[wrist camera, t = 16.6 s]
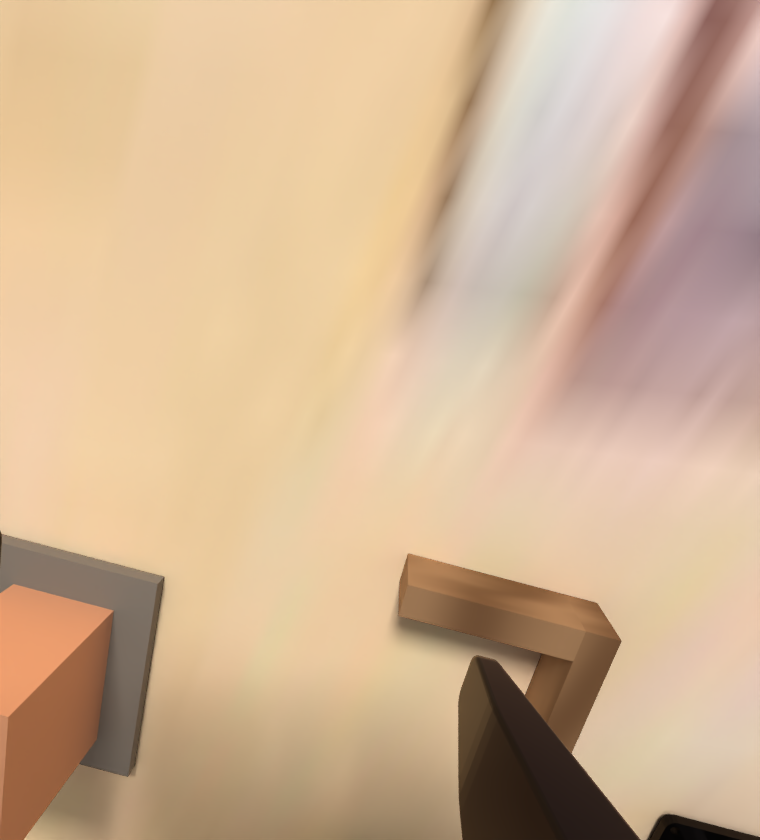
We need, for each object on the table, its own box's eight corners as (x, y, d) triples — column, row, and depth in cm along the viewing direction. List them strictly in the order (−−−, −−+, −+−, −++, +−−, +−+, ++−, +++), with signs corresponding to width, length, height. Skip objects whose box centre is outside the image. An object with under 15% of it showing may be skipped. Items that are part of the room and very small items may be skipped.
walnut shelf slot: (597, 603, 21) (621, 640, 19) (465, 915, 26) (470, 978, 24) (408, 553, 21) (407, 584, 19) (311, 875, 26) (301, 933, 24)
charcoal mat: (164, 576, 22) (157, 584, 22) (134, 765, 25) (127, 776, 24) (-16, 529, 22) (-27, 535, 22) (-25, 724, 25) (-36, 733, 24)
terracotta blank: (96, 739, 24) (-4, 876, 18) (4, 714, 24) (-125, 843, 18) (113, 610, 22) (8, 716, 16) (13, 584, 22) (-128, 681, 16)
